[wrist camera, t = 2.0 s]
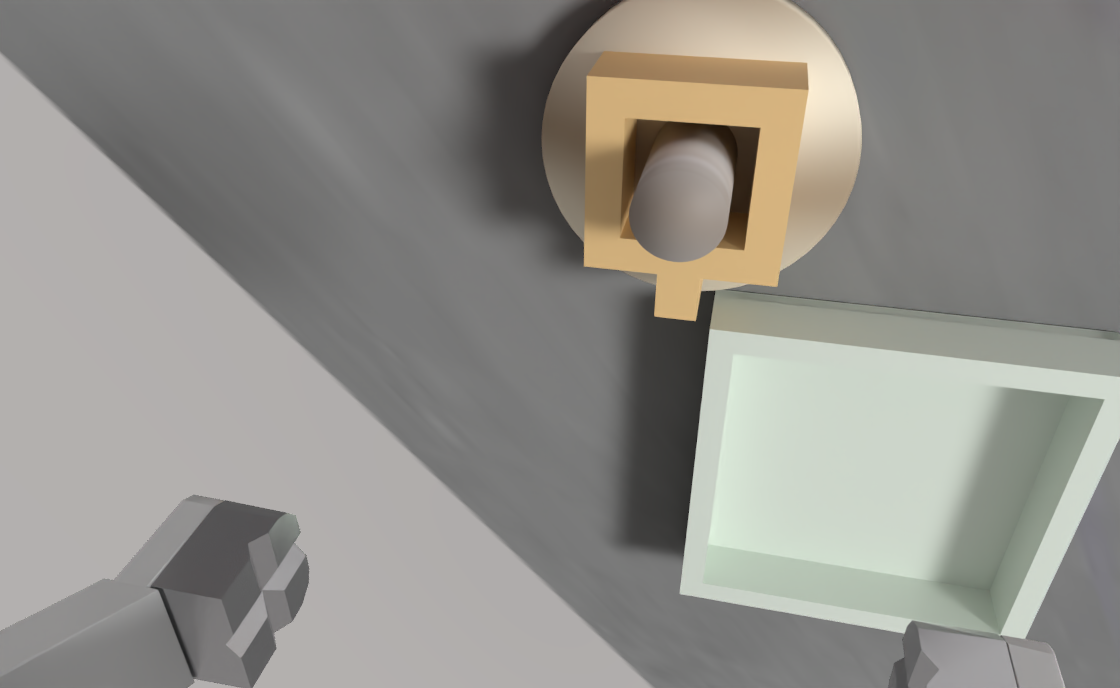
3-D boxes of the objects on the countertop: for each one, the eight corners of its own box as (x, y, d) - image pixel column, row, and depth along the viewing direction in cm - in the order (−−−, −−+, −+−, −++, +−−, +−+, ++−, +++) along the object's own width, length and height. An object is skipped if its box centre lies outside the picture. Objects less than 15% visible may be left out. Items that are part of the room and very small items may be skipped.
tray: (715, 288, 28) (709, 329, 26) (1118, 332, 25) (1146, 380, 23) (686, 545, 34) (679, 593, 32) (1003, 598, 32) (1018, 653, 30)
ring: (604, 51, 23) (586, 76, 21) (806, 62, 22) (808, 90, 20) (598, 269, 27) (583, 308, 25) (772, 288, 26) (770, 329, 24)
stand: (549, -31, 23) (491, 15, 19) (889, -18, 22) (915, 37, 17) (552, 258, 28) (506, 348, 24) (829, 287, 27) (836, 390, 22)
